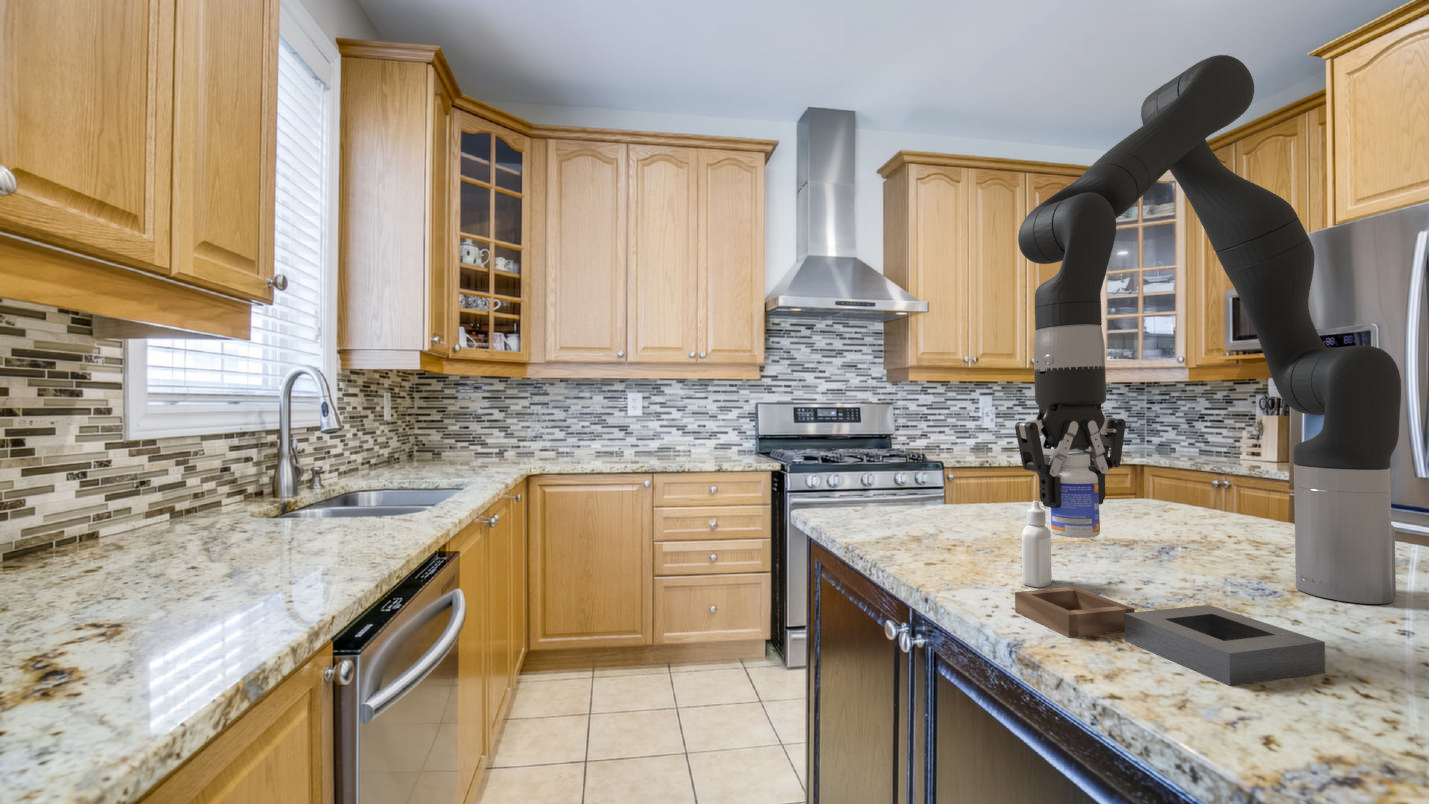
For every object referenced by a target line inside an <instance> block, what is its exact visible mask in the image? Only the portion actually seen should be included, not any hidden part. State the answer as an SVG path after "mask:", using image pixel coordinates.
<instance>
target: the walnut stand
mask: <svg viewBox="0 0 1429 804" xmlns="http://www.w3.org/2000/svg"><path fill="white" fill-rule="evenodd" d="M1014 612H1015V613H1017V614H1018V615H1020V616H1023V617H1025V618H1028V620H1031V621H1033V622H1036V623H1038V624H1040V625H1041V626H1045V627H1046V628H1048V629H1050V630H1053V631H1055V632H1056V633H1059V634H1061V635H1063V636H1066V637H1067V638H1075V637H1084V636H1092V635H1094V636H1095V635H1103V634H1112V633H1121V632H1125V614H1124V613H1133V612H1136V611H1135V607H1131V606H1129V605H1126V604H1123V603H1120V602H1118V601H1115V600H1112V599H1109V598H1107V597H1105V596H1101V595H1099V594H1096V593H1093V592H1090V591H1088V590H1085V589H1082V588H1079V587H1077V586H1069V587H1067V586H1066V587H1059V588H1058V587H1057V588H1045V589H1036V590H1035V589H1034V590H1024V591H1023V590H1022V591H1014Z"/></svg>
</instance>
